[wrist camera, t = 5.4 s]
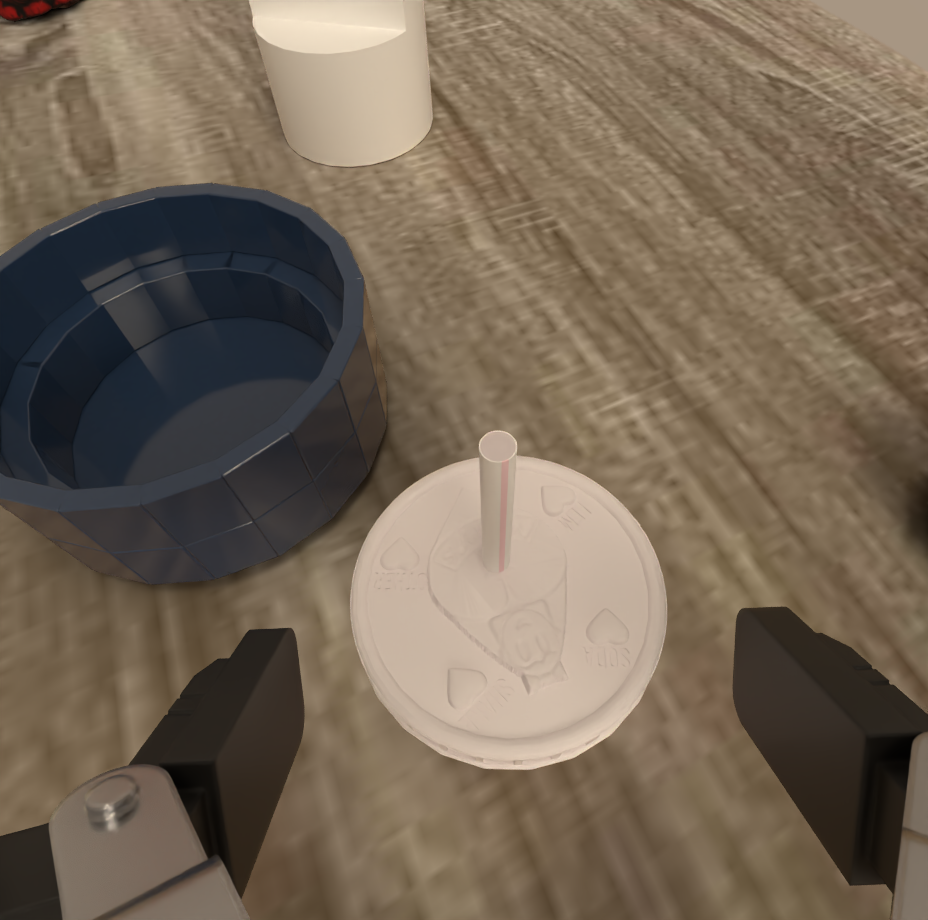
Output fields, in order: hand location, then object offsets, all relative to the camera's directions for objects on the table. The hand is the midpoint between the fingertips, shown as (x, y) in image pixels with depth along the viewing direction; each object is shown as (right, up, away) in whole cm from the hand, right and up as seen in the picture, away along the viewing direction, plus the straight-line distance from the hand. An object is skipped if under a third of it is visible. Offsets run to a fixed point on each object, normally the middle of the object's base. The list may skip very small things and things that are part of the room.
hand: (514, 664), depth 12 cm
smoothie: (0, -4, +9) cm, 10 cm away
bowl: (-11, +5, +15) cm, 20 cm away
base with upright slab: (-7, +24, +27) cm, 37 cm away
